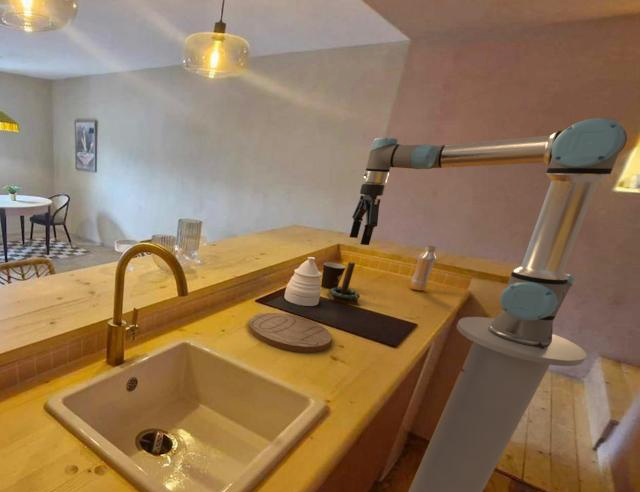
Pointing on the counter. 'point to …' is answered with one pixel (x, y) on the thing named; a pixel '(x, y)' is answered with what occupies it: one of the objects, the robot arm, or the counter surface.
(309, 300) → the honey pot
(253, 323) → the trivet
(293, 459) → the counter surface
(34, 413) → the counter surface
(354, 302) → the post
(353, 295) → the ring
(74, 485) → the counter surface
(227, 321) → the counter surface
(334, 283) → the coffee mug
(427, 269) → the plastic bottle
